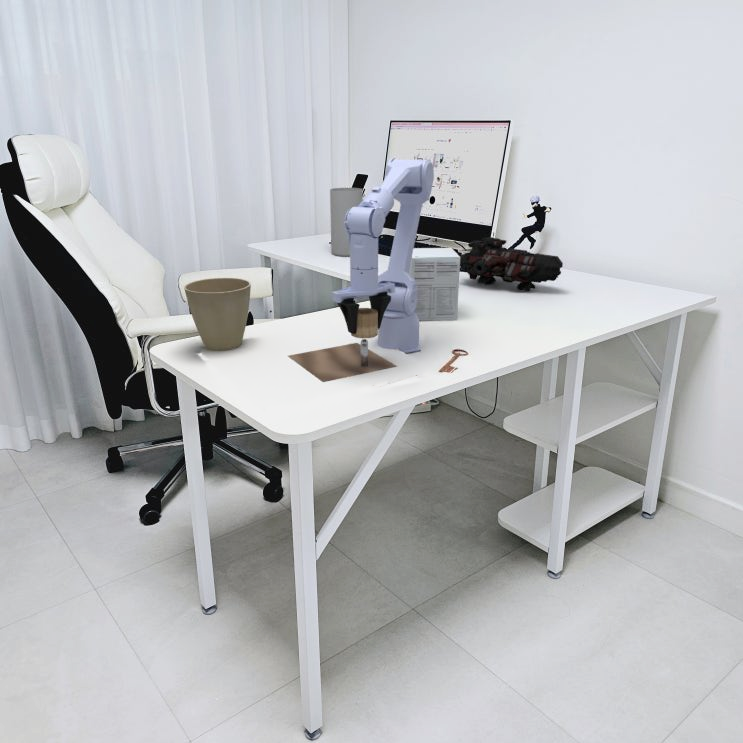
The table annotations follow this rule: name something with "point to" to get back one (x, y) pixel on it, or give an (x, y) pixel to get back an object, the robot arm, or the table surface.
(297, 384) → the table surface
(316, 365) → the fabric cloth
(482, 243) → the spaceship model
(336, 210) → the cylinder vase
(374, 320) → the bead
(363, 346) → the silver metal cylinder
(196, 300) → the plant pot
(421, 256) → the supplement box
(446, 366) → the key
